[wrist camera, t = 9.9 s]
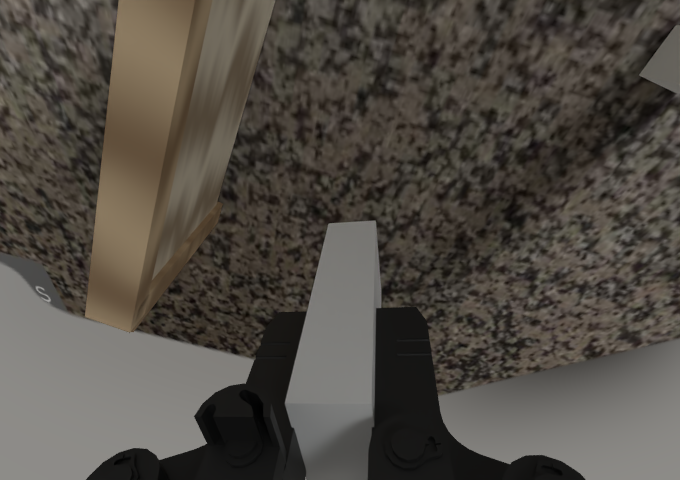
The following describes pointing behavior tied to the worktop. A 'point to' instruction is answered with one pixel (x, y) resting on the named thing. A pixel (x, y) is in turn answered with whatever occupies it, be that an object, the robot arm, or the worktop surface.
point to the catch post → (666, 63)
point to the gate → (167, 143)
